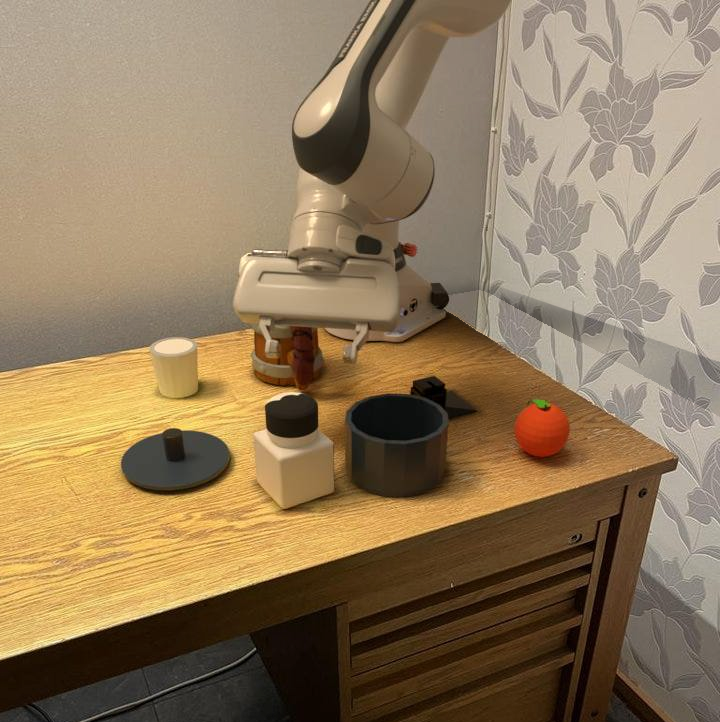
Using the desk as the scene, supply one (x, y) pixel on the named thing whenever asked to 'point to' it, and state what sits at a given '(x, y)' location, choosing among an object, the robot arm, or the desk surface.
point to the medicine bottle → (293, 451)
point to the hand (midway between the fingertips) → (310, 359)
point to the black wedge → (442, 397)
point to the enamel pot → (396, 444)
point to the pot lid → (175, 460)
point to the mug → (288, 356)
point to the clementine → (542, 429)
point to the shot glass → (175, 366)
